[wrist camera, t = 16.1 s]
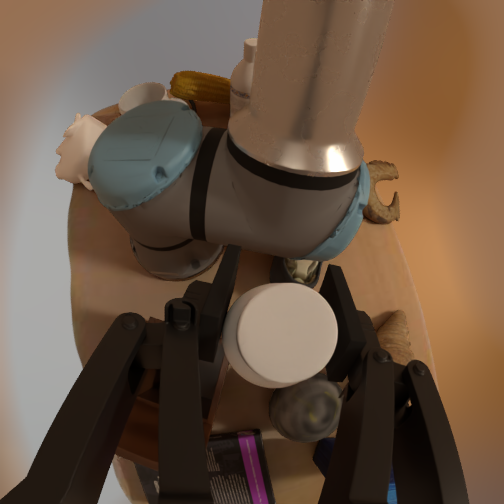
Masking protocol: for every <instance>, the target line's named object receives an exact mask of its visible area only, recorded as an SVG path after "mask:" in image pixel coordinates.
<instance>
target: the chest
mask: <svg viewBox="0 0 504 504" xmlns="http://www.w3.org/2000/svg"><path fill="white" fill-rule="evenodd" d="M161 322H165V321H162V320H159V319H156V318H153V317H150V318H149V322H148V323H161ZM228 365H229V361H228V359H227V357H226V355H225V352H224V348H223V343H222V338H220V340H219V344H218V348H217V351H216V355H215V359H214V363H211V362H206V361H202V360H199V375H200V391H201V404H202V417H203V423H207V424H211V425H213V422H214V418H215V415H216V411H217V407H218V404H219V400H220V396H221V392H222V388H223V384H224V381H225V377H226V373H227V369H228ZM160 373H161V369H149V370H148V372H147V375H146V377H145V379H144V382H143V384H142V386H141V389H140V391H139V393H138V396H137V398H136V400H137V401H140V402H143V403H145V404H148V405H150V406H153V407H156V408H159V390H160Z"/></svg>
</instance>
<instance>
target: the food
mask: <svg viewBox="0 0 504 504" xmlns="http://www.w3.org/2000/svg"><path fill="white" fill-rule="evenodd" d="M230 80H231V79H227V78H223V77H220V76H216V75H212V74H207V73H201V72H195V71H181V72H177V73H176V74H174V77H173V78H172V80H171V81H170V84H171V89H170V94H172V95H173V96H175V97H178V98H182V99H188V100H197V101H207V102H209V101H210V102H216V103H225V104H230Z"/></svg>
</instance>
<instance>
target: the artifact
mask: <svg viewBox="0 0 504 504" xmlns="http://www.w3.org/2000/svg"><path fill="white" fill-rule="evenodd" d="M366 165H367V168H368V170H369V175H370V193H369V199H368V204H367V206H365V207H364V209H363V210H362V214H363V215H364V216H366V217H367V218H369V219H370V220H372V221H374V222H376V223H381V224H387V223H390V222H392V221H394V220H396V221H399V218H400V213H399V212H400V211H399V197H398V192H395V193H394V198H393V201H392V203H391V205H389V206H384V205H383V204H382V203H381V202H380V201H379V199H378V197H377V195H376V193H375V184H376V183H377V182H378V181H380V180H393V179H394V178H395V179H398V178H399V176H398V172H397V169H396V167H395V165H394V164H392V163H391V164H390V163H388V162H382V161H377V160H374V161H371V162H369V164H366Z"/></svg>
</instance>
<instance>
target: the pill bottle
mask: <svg viewBox="0 0 504 504" xmlns="http://www.w3.org/2000/svg"><path fill="white" fill-rule="evenodd" d="M337 336H338V328H337V322H336V318H335V315H334V312H333V310H332V308H331V307H330V305H329V304H328V302H327V301H326V300H325V299H324V298H323V297H322V296H321V295H320V294H319V293H317V292H316V291H314V290H313V289H311V288H309V287H307V286H304V285H301V284H296V283H270V284H265V285H261V286H258V287H255V288H252V289H251V290H249V291H247V292H245V293H244V294H243V295H241V296H240V297H239V298H238V299H237V300H236V301H235V302H234V304H233V305H232V306H231V308H230V309H229V311H228V313H227V315H226V318H225V320H224V324H223V329H222V343H223V348H224V352H225V355H226V357H227V359H228V361H229V363H230V364H231V366H232V368H233V369H234V370H235V371H236V372H237V373H238V374H239V375H240V376H241V377H243V378H244V379H245V380H247V381H249V382H251V383H253V384H255V385H258V386H261V387H266V388H283V387H288V386H291V385H294V384H297V383H299V382H301V381H304V380H307V379H309V378H311V377H312V376H314V375H316V374H317V373H318V372H319V371H321V370H322V369H323V368H324V367H325V366H326V364H327V363H328V362H329V360H330V358H331V357H332V355H333V353H334V350H335V347H336V344H337Z"/></svg>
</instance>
